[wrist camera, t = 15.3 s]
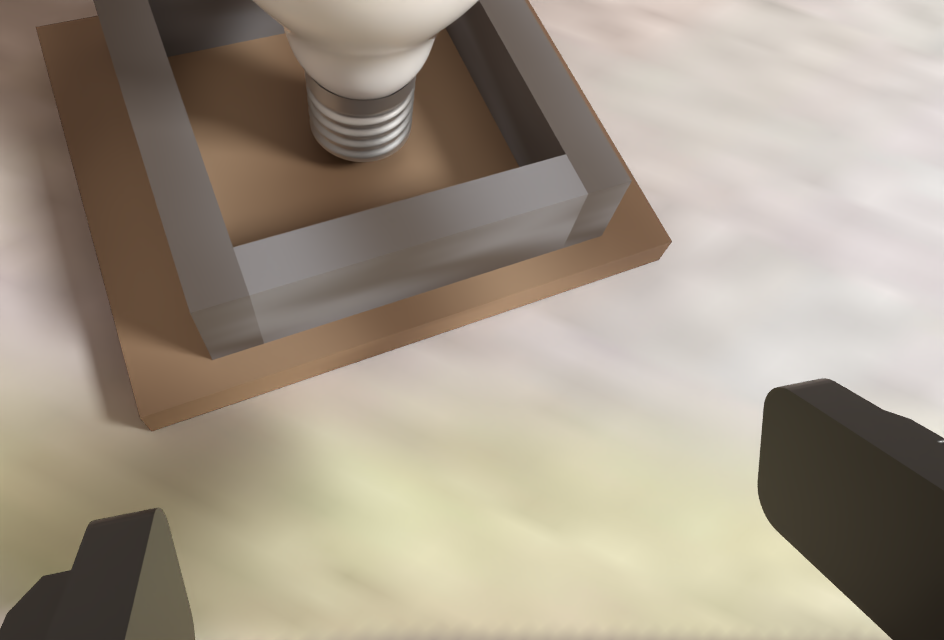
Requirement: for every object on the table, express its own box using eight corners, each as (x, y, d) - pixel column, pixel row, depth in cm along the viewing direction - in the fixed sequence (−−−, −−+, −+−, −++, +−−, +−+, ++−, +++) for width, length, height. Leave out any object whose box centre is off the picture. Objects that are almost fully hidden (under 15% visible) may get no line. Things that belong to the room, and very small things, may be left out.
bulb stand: (489, -32, 25) (507, -131, 22) (658, 259, 21) (710, 187, 18) (49, 54, 21) (-5, -52, 18) (151, 431, 17) (105, 377, 14)
